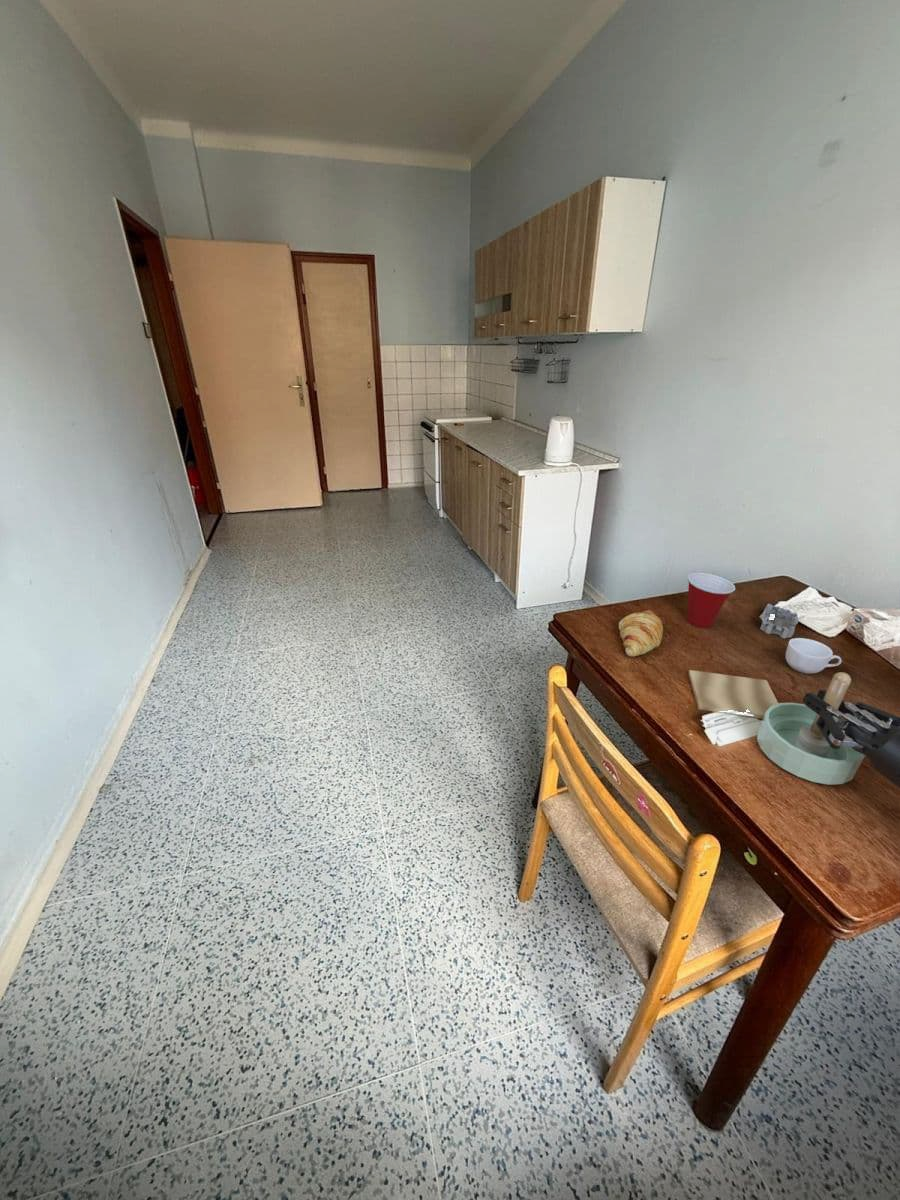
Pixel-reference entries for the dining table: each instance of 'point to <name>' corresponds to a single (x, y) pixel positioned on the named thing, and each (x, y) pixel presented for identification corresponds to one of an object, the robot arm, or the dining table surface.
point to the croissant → (640, 632)
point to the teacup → (809, 655)
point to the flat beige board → (731, 693)
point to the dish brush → (812, 736)
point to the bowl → (779, 747)
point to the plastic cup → (706, 598)
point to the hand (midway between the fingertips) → (812, 695)
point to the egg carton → (779, 621)
